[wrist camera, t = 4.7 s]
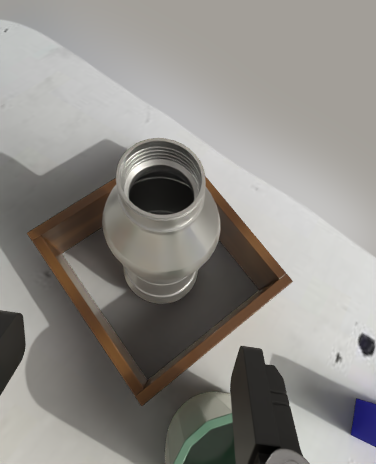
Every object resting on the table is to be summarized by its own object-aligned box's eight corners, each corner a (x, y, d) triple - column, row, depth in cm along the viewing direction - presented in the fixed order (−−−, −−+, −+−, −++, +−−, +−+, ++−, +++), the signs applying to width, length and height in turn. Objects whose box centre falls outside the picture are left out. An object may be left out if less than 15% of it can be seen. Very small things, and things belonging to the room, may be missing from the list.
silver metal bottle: (156, 225, 34) (150, 80, 15) (209, 269, 33) (273, 173, 14) (111, 274, 32) (40, 179, 13) (165, 322, 32) (172, 292, 13)
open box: (50, 252, 33) (26, 232, 27) (173, 172, 36) (175, 140, 31) (145, 394, 30) (141, 406, 24) (270, 291, 33) (293, 281, 27)
